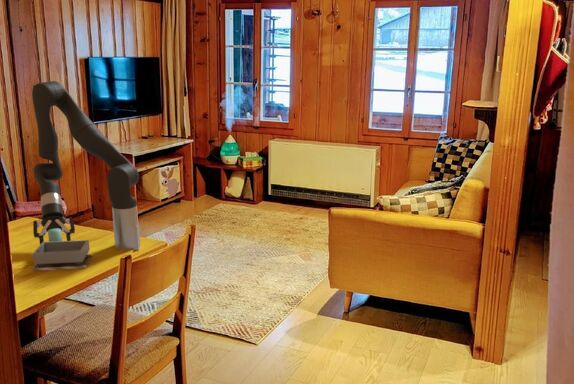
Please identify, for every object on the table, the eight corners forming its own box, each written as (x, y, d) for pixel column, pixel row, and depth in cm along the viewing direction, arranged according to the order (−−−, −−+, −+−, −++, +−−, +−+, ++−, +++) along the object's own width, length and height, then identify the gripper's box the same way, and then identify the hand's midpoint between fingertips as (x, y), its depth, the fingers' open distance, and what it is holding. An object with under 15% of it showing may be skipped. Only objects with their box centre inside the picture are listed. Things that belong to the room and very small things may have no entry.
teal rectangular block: (64, 253, 200) (62, 228, 197) (61, 257, 195) (59, 231, 193) (52, 253, 199) (49, 228, 196) (49, 257, 195) (46, 232, 192)
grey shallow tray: (90, 255, 194) (88, 240, 193) (83, 268, 183) (81, 251, 181) (44, 258, 192) (42, 241, 190) (34, 270, 180) (32, 253, 179)
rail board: (93, 258, 195) (92, 253, 194) (86, 270, 183) (86, 266, 183) (41, 260, 192) (41, 256, 191) (31, 273, 180) (31, 268, 180)
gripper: (30, 204, 196) (33, 242, 189) (71, 200, 202) (76, 237, 195) (32, 213, 202) (35, 251, 195) (71, 210, 208) (76, 246, 201)
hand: (55, 244), depth 195 cm, fingers open, 8 cm apart
